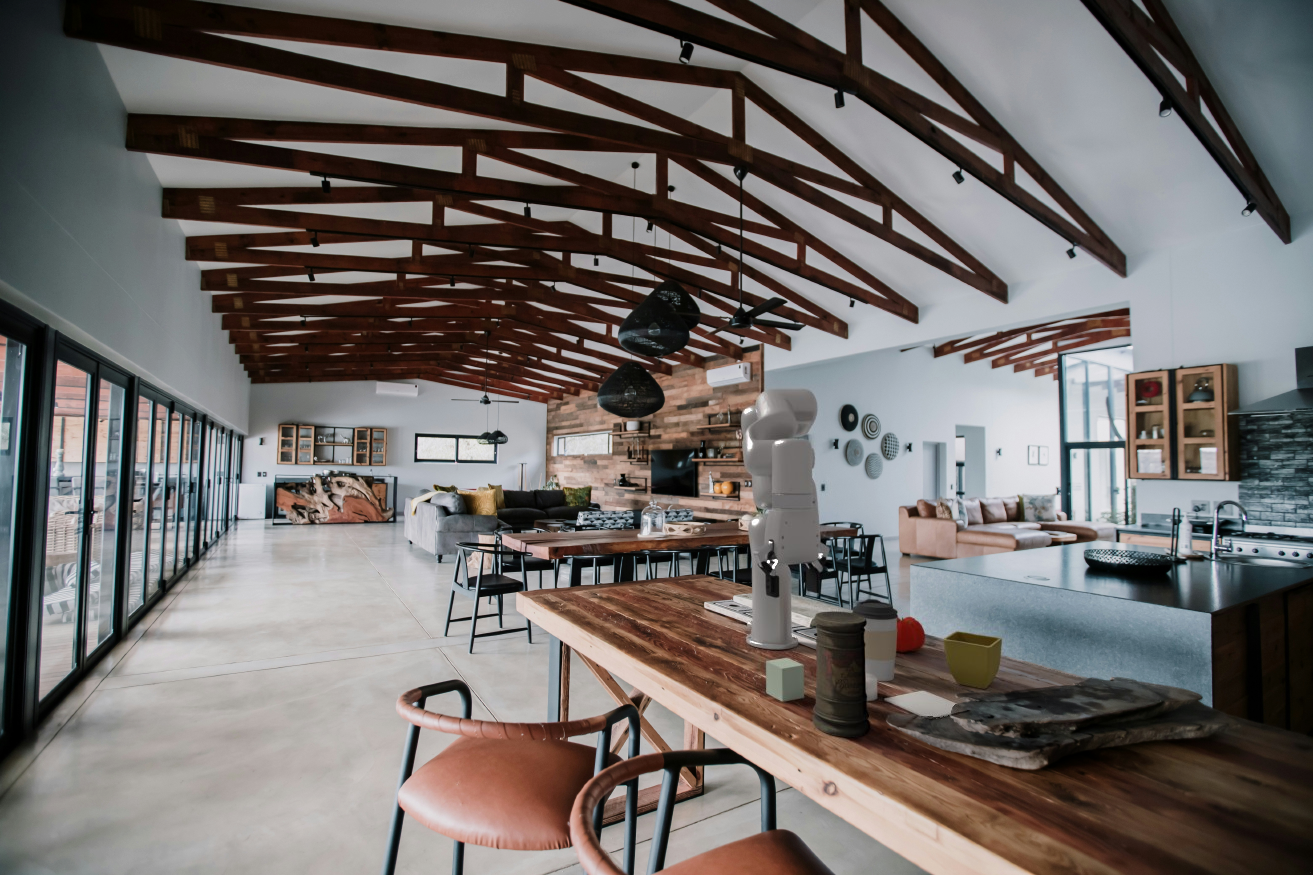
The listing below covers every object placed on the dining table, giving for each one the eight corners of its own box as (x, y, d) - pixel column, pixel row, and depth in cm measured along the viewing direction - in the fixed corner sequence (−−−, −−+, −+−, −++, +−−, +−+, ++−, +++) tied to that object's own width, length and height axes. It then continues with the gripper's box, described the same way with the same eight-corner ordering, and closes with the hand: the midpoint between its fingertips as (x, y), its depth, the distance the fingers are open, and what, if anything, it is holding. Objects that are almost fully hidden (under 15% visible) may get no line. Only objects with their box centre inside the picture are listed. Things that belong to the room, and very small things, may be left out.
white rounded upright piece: (837, 692, 117) (836, 674, 117) (860, 688, 119) (860, 669, 120) (860, 703, 111) (859, 683, 112) (884, 698, 114) (884, 679, 114)
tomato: (877, 650, 145) (876, 618, 145) (890, 642, 151) (890, 611, 152) (918, 658, 139) (917, 624, 139) (930, 649, 145) (929, 617, 146)
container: (802, 720, 103) (801, 612, 104) (844, 712, 107) (843, 608, 108) (837, 742, 95) (836, 624, 96) (882, 732, 99) (880, 619, 100)
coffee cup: (903, 684, 121) (901, 607, 122) (855, 681, 123) (854, 605, 124) (895, 670, 130) (893, 598, 131) (850, 667, 132) (849, 596, 133)
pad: (884, 700, 113) (884, 698, 113) (923, 691, 117) (923, 690, 117) (929, 719, 104) (929, 718, 104) (969, 710, 108) (969, 708, 108)
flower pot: (943, 684, 121) (942, 638, 122) (957, 673, 128) (956, 630, 128) (992, 695, 115) (990, 646, 116) (1004, 683, 122) (1002, 637, 122)
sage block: (766, 692, 116) (766, 661, 117) (787, 689, 119) (787, 657, 119) (782, 701, 112) (782, 668, 112) (804, 697, 114) (803, 664, 114)
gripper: (813, 501, 124) (815, 587, 123) (743, 503, 116) (743, 594, 115) (840, 503, 117) (842, 593, 116) (767, 505, 109) (768, 602, 108)
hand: (793, 594), depth 115 cm, fingers open, 9 cm apart
